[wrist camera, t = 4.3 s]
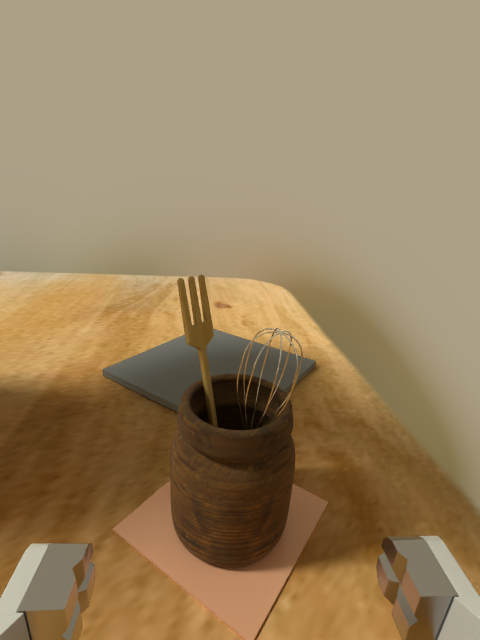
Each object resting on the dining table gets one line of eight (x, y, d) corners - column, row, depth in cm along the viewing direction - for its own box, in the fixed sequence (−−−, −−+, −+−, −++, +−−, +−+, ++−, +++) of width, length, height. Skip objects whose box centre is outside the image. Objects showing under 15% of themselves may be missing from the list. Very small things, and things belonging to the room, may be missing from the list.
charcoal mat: (103, 375, 31) (102, 369, 31) (204, 330, 42) (204, 326, 42) (234, 441, 24) (234, 433, 24) (315, 366, 35) (315, 361, 35)
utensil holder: (231, 606, 14) (252, 332, 10) (143, 511, 18) (132, 285, 14) (309, 517, 19) (346, 297, 14) (224, 455, 22) (234, 268, 18)
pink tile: (112, 531, 17) (112, 528, 17) (213, 444, 24) (213, 442, 24) (251, 647, 13) (251, 644, 13) (328, 504, 20) (328, 502, 20)
